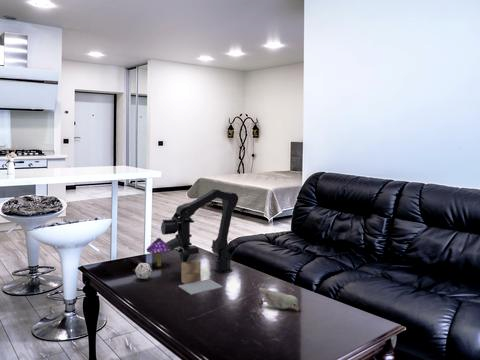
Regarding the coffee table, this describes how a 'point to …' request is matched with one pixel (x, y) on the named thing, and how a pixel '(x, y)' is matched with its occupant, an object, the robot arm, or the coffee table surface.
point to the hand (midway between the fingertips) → (184, 264)
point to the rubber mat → (200, 286)
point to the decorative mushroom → (158, 249)
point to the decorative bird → (279, 299)
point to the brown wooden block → (191, 271)
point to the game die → (143, 270)
